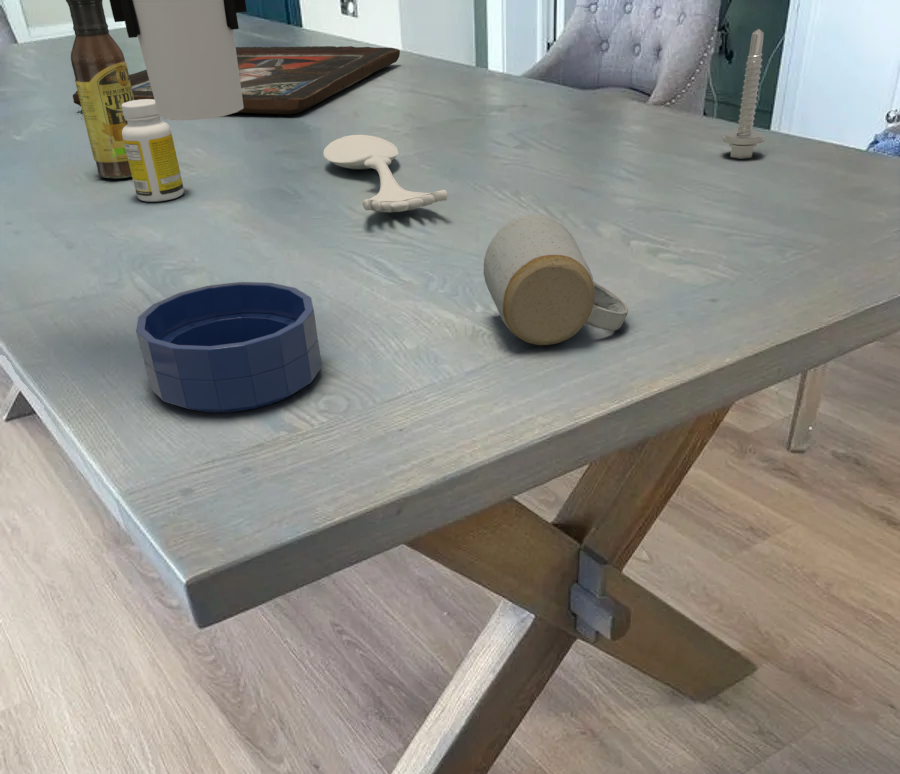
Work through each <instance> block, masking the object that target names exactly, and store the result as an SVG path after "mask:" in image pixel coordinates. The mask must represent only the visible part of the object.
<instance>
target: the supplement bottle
mask: <svg viewBox="0 0 900 774" xmlns="http://www.w3.org/2000/svg"><path fill="white" fill-rule="evenodd" d="M122 111H123V115H124V118H125V119H126V120H127V122H128V124H127V125H126V126H125V127H124V128H123V130H122V137H123V142H124V146H125V150H126V154H127V158H128V162H129V166H130V170H131V174H132V177H131V178H132V182H133V186H134V189H135V193H136V197H137V198H138V199H139V200H140V201H143V202H147V203H148V202H150V203H151V202H153V203H154V202H164V201H170V200H174V199H177V198H179V197H181V196H182V195H183V194H184V193H185V192H184V191H185V189H184V184H183V178H182V174H181V170H180V164H179V161H178V156H177V152H176V151H177V150H176V148H175V143H174V138H173V134H172V133H173V132H172V130H171V127H170V125H169V124H168V123H167V122H166V121H163V120H161V119H160V118H161V117H159V114H158V110H157V107H156V103H155V100H154V99H141V100H133V101H128V102H125V103H123V104H122Z"/></svg>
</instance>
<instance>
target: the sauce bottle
mask: <svg viewBox="0 0 900 774" xmlns="http://www.w3.org/2000/svg"><path fill="white" fill-rule="evenodd" d="M65 2H66V4H67V6H68V9H69V13H70V18H71V21H72V25H73V26H72V29H73V32H74V35H75V37H74V40H73V44H72V48H71V51H70V63H71V66H72V70H73V74H74V82H75V87H76V91H78V95H79V99H80V103H81V111H82V115H83V116H82V117H83V120H84V124H85V127H86V128H85V129H86V132H87V137H88V141H89V145H90V149H91V152H92V157H93V160H94V161H95V164H96V170H97V173H98V175H99V177H101V178H103V179H104V178H105V179H127V178H132V174H131V170H130V166H129V162H128V158H127V154H126V150H125V146H124V142H123V137H122V130H123V128H124V127H125V126H126V125H127V124H128V122H127V120H126V119H125V118H124V115H123V111H122V104H123V103H125V102H128V101H133V100H134V97H133V92H132V88H131V83H130V78H129V75H130V73H129V69H128V63H127V62H126V58H125V55H124V52H123V49H121V47H120V46H119V44H118V43H117V42H116V41H115V40H114V38H113V37H112V36H111V35H110V30H109V26H108V23H107V19H106V15H105V10H104V6H103V5H104V4H103V0H65Z"/></svg>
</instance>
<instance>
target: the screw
mask: <svg viewBox="0 0 900 774" xmlns="http://www.w3.org/2000/svg"><path fill="white" fill-rule="evenodd" d="M764 34H765V33H764V31H762V30H761V29H760V28H758V29H756V30H754V31H753V32H752V34H751V38H750V45H749V53H748V56H746V58H747V61H746V62H745V65H746V66H745V67H746V68H745V69H744V71H745V73H744V75H743V76H744V80H743V81H742V82H743V86H742V92H741V95H742V97H741V98H740V100H741V103H740V104H739V105H740V109H739V112H740V114H739V115H738V117H739V119H738V120H737V123H738V126H737V129H735V130H730V131H726V133H725V134H723V135H722V138H721V140H722V142H724V143H726V144H728V146H729V147H730V148H731V150H730V156H729V157H730V158H733V159H737V160H744V159H745V160H746V159H751V158H753V153H754V148H755V147H757V146H758V144H759V145H760V144H762V143H764V142H765V141H766V136H765V135H764V133H763V132H761V131H758V130H754V128H753V126H754V125H755V123H754V120H756V117H754V116H755V115H756V111H755V110H756V109H757V105H756V103H758V100H757V98H758V97H759V95H758V94H757V93H758V92H759V91H760V89H759V88H758V87H759V86H760V84H761V83H760V81H759V80H761V77H760V74H761V73H762V71H761V69H762V68H763V65H762V62H763V58H762V56H763V55H764V54H763V53H762V52H763V43H764V36H765V35H764Z"/></svg>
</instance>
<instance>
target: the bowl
mask: <svg viewBox="0 0 900 774" xmlns="http://www.w3.org/2000/svg"><path fill="white" fill-rule="evenodd" d="M316 323H317V322H316V315H315V309H314V305H313V301H312V297H311V296H309V295H308V294H306V293H305V292H303V291H301V290H300V289H299V288H296V287H293V286H289V285H284V284H279V283H274V282H263V281H262V282H260V281H259V282H257V281H255V282H254V281H237V282H236V281H235V282H227V283H220V284H219V283H218V284H210V285H205V286H201V287H198V288H193V289H189V290H186V291H181V292H178V293H176V294H173V295H171V296H169V297H167V298H164V299H162V300H160V301H158V302H155V303H153V304H151V305H150V306H149V307H148V308H146V310H145V311H143V312H142V313H141V314H140V315H139V316H138V317H137V322H136V328H135V332H136V337H137V341H138V344H139V349H140V352H141V356H142V359H143V363H144V367H145V370H146V371H145V372H146V374H147V379H148V381H149V386H150V390H152V391H153V393H155V395H156V396H158V398H160V399H161V401H163V402H164V403H168V404H171V405H174V406H178V407H180V408H184V409H187V410H192V411H198V412H204V413H235V412H243V411H247V410H249V411H250V410H255V409H259V408H262V407H265V406H269V405H272V404H275V403H277V402H280V401H282V400H285V399H287V398H289V397H290V396H293V395H294V394H296V393H297V392H299V390H301V389H303V388H304V387H306V386H308V385H309V384H311V383H312V382H313V381H314V379H315V378H316V377H317V375H318V373H319V372H320V371H321V370H322V367H323V366H322V358H321V352H320V344H319V339H318V337H319V336H318V330H317V324H316Z"/></svg>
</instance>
